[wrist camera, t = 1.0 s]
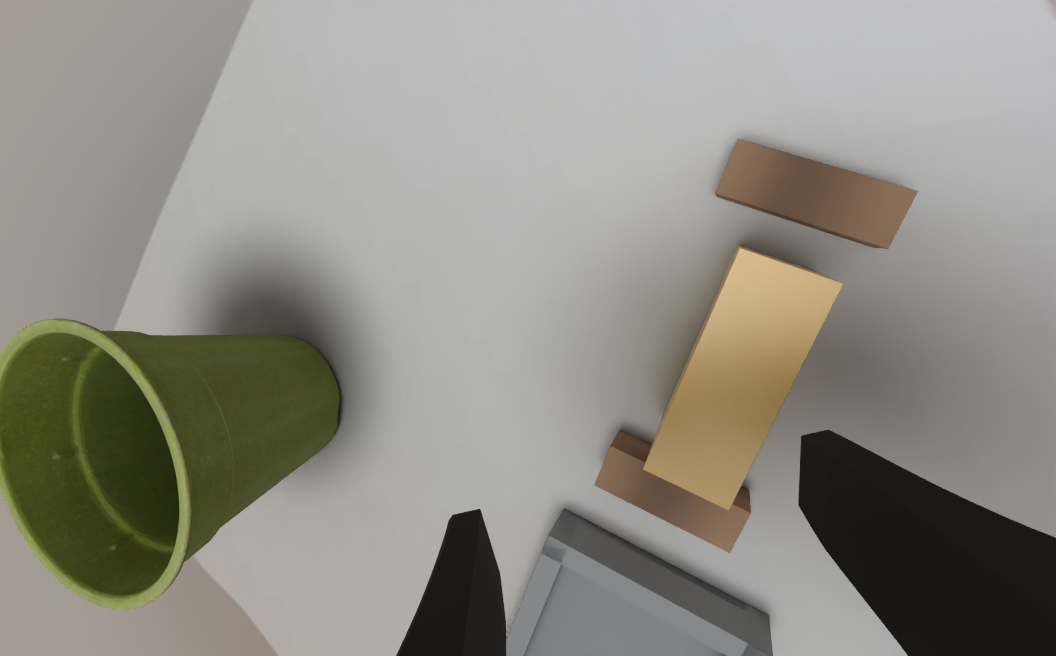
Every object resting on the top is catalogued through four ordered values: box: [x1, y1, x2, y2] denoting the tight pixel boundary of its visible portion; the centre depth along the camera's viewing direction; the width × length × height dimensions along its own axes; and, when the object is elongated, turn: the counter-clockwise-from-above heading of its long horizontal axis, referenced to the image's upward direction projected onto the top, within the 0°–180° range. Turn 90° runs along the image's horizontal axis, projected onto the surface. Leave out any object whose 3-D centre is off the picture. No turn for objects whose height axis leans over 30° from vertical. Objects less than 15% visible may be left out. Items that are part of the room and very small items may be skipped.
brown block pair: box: [595, 139, 918, 553], centre depth 21 cm, size 6×15×2 cm, turn 161°
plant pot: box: [0, 319, 340, 610], centre depth 26 cm, size 12×12×11 cm
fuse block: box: [643, 245, 843, 510], centre depth 20 cm, size 3×8×6 cm, turn 161°
